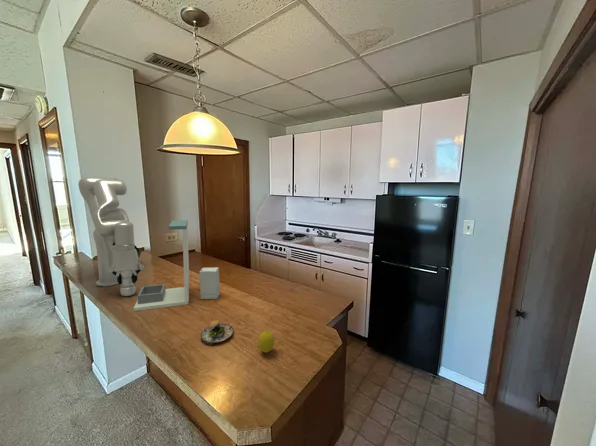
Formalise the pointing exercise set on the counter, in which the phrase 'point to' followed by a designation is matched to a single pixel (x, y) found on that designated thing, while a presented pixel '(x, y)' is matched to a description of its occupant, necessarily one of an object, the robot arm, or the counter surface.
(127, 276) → the grey tall bottle shape
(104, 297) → the counter surface
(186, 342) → the counter surface
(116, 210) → the robot arm
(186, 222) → the socket stand
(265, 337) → the lemon
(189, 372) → the counter surface
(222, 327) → the plate of salad
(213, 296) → the skincare box
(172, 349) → the counter surface
